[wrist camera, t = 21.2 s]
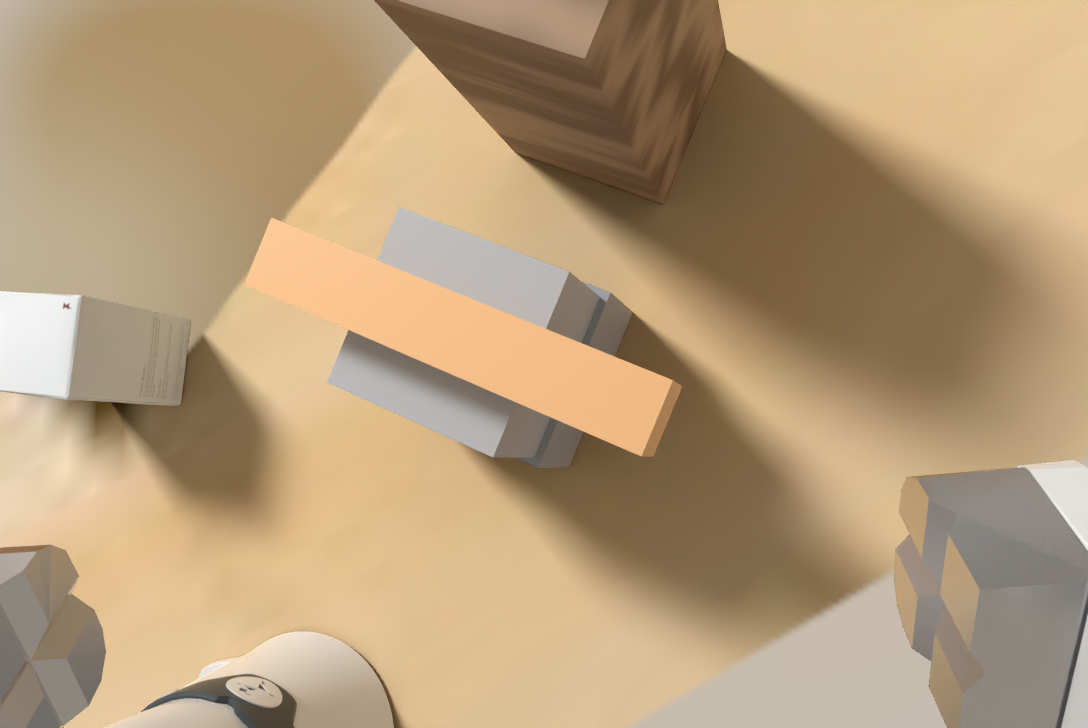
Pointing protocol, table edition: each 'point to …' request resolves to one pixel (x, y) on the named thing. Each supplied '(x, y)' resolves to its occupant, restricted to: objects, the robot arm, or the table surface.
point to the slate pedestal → (500, 285)
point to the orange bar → (467, 338)
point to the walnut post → (579, 77)
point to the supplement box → (90, 349)
